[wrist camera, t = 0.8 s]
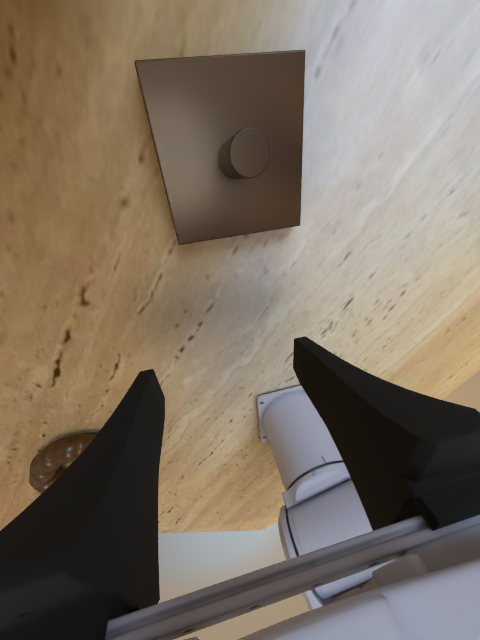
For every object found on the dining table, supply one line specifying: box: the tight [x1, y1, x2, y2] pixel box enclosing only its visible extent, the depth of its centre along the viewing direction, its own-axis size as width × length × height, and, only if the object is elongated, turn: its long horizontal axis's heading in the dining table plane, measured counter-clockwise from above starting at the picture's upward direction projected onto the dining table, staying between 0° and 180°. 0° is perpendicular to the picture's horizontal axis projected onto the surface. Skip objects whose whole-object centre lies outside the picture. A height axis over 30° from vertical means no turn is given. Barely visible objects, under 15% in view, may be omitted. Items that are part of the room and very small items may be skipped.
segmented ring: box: [29, 433, 97, 494], centre depth 26 cm, size 11×11×2 cm
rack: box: [135, 50, 305, 245], centre depth 13 cm, size 9×9×5 cm
